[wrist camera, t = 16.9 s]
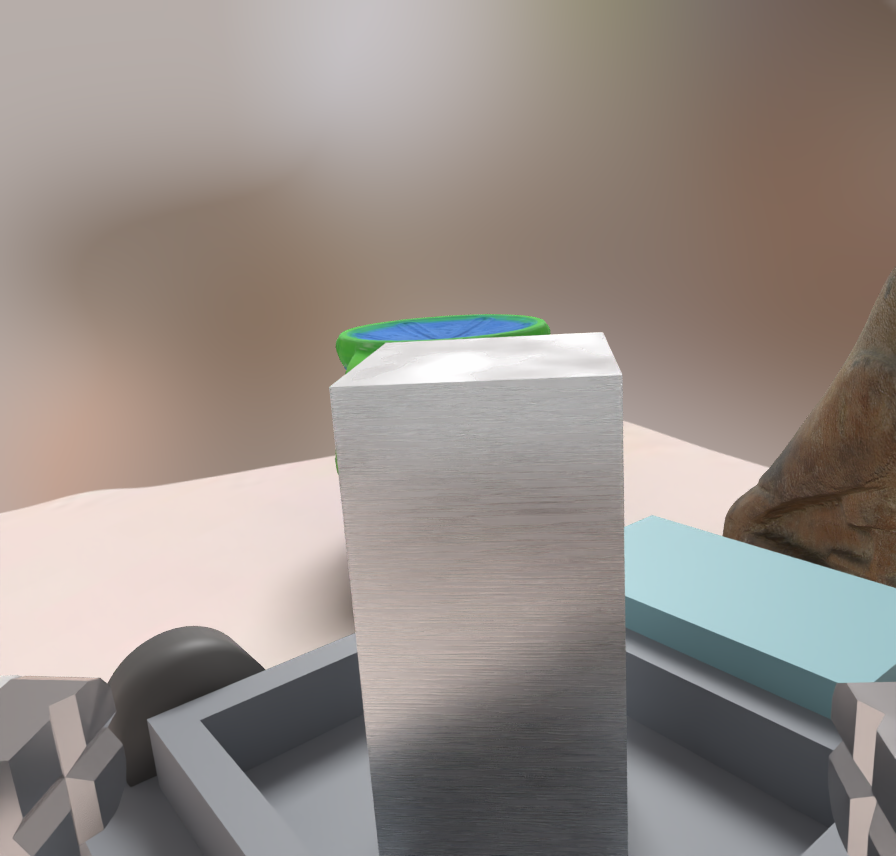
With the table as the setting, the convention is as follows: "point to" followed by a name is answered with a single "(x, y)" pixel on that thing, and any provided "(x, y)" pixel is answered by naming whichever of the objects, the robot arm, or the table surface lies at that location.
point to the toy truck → (647, 713)
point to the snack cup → (432, 333)
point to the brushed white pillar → (489, 592)
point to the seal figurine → (837, 468)
